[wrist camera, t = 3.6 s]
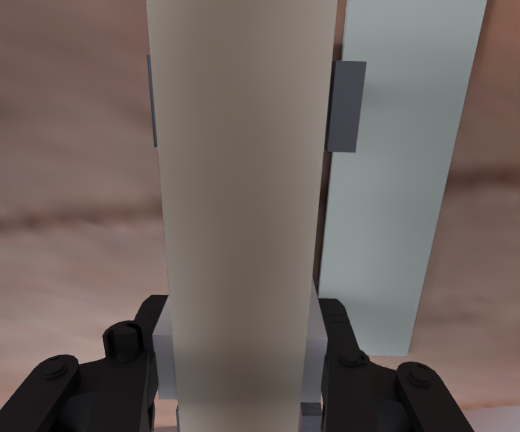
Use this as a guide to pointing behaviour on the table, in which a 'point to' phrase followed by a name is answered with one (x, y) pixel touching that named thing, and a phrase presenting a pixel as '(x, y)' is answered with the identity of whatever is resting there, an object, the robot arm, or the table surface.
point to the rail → (240, 198)
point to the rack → (336, 140)
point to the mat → (395, 161)
